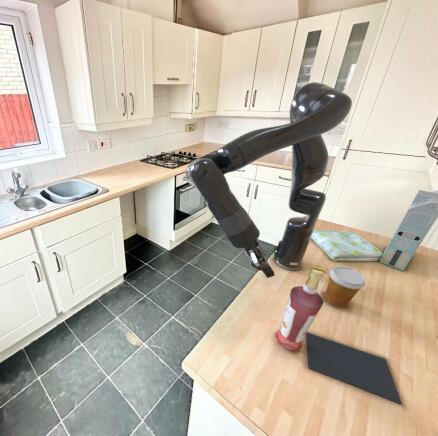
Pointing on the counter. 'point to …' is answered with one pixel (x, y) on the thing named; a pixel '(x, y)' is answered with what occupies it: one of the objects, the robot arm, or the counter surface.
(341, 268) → the disposable coffee cup
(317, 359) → the mat
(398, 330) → the counter surface
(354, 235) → the towel
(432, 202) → the device
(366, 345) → the counter surface
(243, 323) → the counter surface
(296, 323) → the liquor
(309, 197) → the robot arm
